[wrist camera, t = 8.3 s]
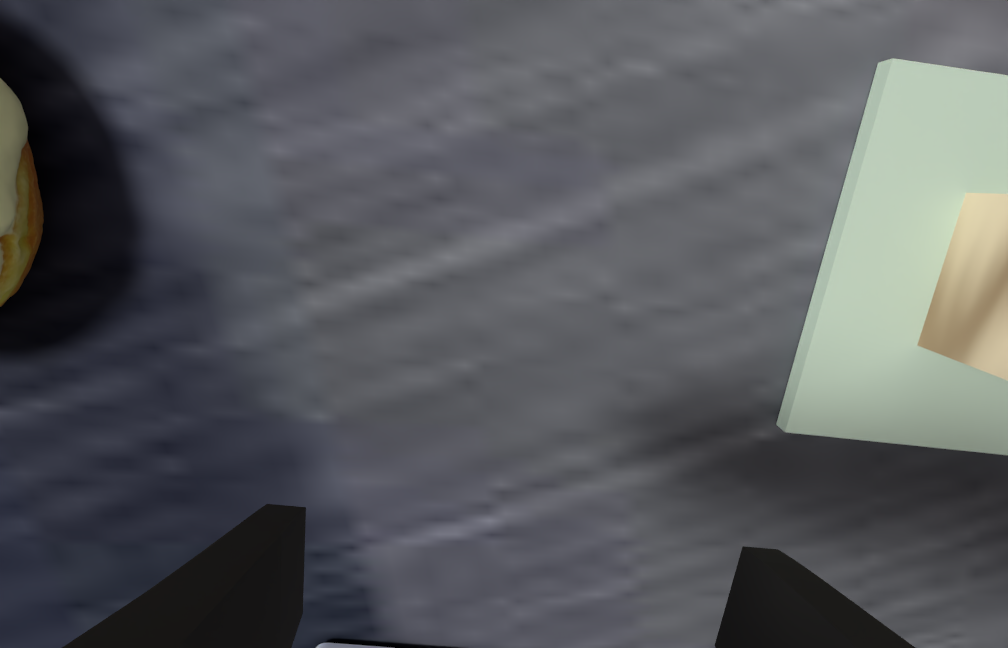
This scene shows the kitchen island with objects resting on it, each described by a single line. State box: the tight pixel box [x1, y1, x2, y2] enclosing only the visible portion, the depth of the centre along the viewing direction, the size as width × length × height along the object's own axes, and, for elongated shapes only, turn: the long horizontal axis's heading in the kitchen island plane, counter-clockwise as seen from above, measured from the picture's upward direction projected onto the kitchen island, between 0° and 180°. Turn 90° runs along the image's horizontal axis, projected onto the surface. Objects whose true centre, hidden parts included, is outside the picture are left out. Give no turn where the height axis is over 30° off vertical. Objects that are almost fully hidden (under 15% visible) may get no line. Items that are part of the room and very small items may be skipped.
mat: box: [776, 59, 1008, 455], centre depth 18 cm, size 12×12×1 cm
